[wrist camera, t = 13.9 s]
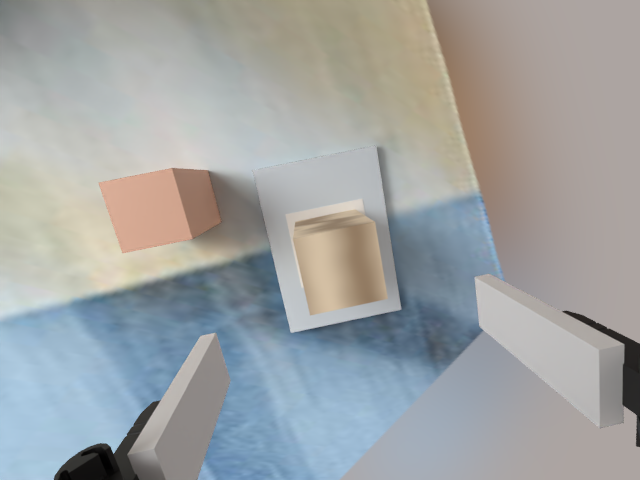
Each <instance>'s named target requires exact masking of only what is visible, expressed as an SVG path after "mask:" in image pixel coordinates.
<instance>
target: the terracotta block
mask: <svg viewBox="0 0 640 480" xmlns="http://www.w3.org/2000/svg"><path fill="white" fill-rule="evenodd" d="M99 186H100V189H101V192H102V194H103V197H104V200H105V203H106V206H107V209H108V212H109V215H110V218H111V221H112V224H113V227H114V229H115V232H116V235H117V238H118V241H119V244H120V247H121V250H122V253H126V252H131V251H136V250H141V249H146V248H151V247H156V246H161V245H166V244H170V243H175V242H180V241H185V240H190V239H193V238H195V237H197V236H199V235H200V234H202V233H204V232H205V231H207V230H209V229H211V228H212V227H214V226H216V225H218V224H219V223H221V222H222V221H221V218H220V214H219V210H218V206H217V203H216V199H215V195H214V191H213V188H212V184H211V180H210V176H209V173H208V170H194V169H178V168H170V169H165V170H160V171H155V172H150V173H145V174H140V175H135V176H130V177H125V178H120V179H115V180H110V181H105V182H100V183H99Z"/></svg>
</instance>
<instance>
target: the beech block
mask: <svg viewBox="0 0 640 480" xmlns="http://www.w3.org/2000/svg"><path fill="white" fill-rule="evenodd" d="M293 242H294V246H295V251H296V255H297V260H298V264H299V269H300V273H301V277H302V282H303V286H304V291H305V295H306V299H307V304H308V308H309V313H310V315H315V314H320V313H324V312H329V311H334V310H338V309H343V308H348V307H352V306H357V305H362V304H366V303H371V302H376V301H380V300H385V299H388V297H387V291H386V285H385V279H384V273H383V267H382V260H381V254H380V248H379V242H378V236H377V230H376V224H375V221H373V220H371V219H370V218H368V217H367V216H365V215H363V214H362V213H360V212H358V211H357V210H355V209H354V210H349V211H344V212H340V213H335V214H330V215H325V216H320V217H316V218H311V219H306V220H301V221H297V222H295V227H294V234H293Z"/></svg>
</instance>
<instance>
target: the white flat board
mask: <svg viewBox="0 0 640 480" xmlns="http://www.w3.org/2000/svg"><path fill="white" fill-rule="evenodd" d="M252 172H253V176H254V180H255V184H256V188H257V193H258V197H259V201H260V205H261V209H262V213H263V218H264V222H265V226H266V230H267V234H268V239H269V243H270V247H271V251H272V255H273V260H274V264H275V268H276V272H277V276H278V281H279V285H280V289H281V293H282V297H283V301H284V306H285V310H286V314H287V318H288V322H289V327H290V331H291V333H293V332H297V331H302V330H307V329H312V328H316V327H321V326H326V325H331V324H335V323H340V322H345V321H350V320H354V319H359V318H364V317H368V316H373V315H378V314H383V313H387V312H392V311H397V310H401V304H400V298H399V291H398V284H397V278H396V271H395V265H394V258H393V252H392V245H391V239H390V232H389V226H388V219H387V213H386V206H385V200H384V193H383V187H382V180H381V174H380V167H379V160H378V154H377V147H376V145H375V146H370V147H365V148H360V149H355V150H350V151H345V152H340V153H335V154H330V155H325V156H321V157H316V158H311V159H306V160H301V161H296V162H291V163H286V164H281V165H276V166H271V167H266V168H261V169H256V170H252ZM354 209H355V210H357V211H358V212H360V213H362V214H363V215H365V216H367V217H368V218H370V219H371V220H373V221H375V224H376V230H377V236H378V242H379V248H380V254H381V260H382V267H383V273H384V279H385V285H386V291H387V297H388V299H385V300H380V301H376V302H371V303H366V304H362V305H357V306H352V307H348V308H343V309H338V310H334V311H329V312H324V313H320V314H315V315H310V313H309V308H308V304H307V299H306V295H305V291H304V286H303V282H302V277H301V273H300V269H299V264H298V260H297V255H296V251H295V246H294V242H293V234H294V227H295V222H297V221H301V220H306V219H311V218H316V217H320V216H325V215H330V214H335V213H340V212H344V211H349V210H354Z"/></svg>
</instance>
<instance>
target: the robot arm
mask: <svg viewBox="0 0 640 480" xmlns="http://www.w3.org/2000/svg"><path fill="white" fill-rule="evenodd" d="M475 287H476V297H477V307H478V317H479V326H480V327H481V328H482V329H483V330H484V331H485V332H487V333H488V334H489V335H490V336H491V337H493V338H494V339H495V340H496V341H497V342H498V343H500V344H501V345H502V346H503V347H504V348H506V349H507V350H508V351H509V352H510V353H511V354H513V355H514V356H515V357H516V358H517V359H519V360H520V361H521V362H522V363H523V364H524V365H526V366H527V367H528V368H529V369H530V370H532V371H533V372H534V373H535V374H536V375H537V376H539V377H540V378H541V379H542V380H543V381H545V382H546V383H547V384H548V385H549V386H550V387H552V388H553V389H554V390H555V391H556V392H558V393H559V394H560V395H561V396H562V397H564V398H565V399H566V400H567V401H568V402H569V403H571V404H572V405H573V406H574V407H575V408H577V409H578V410H579V411H580V412H581V413H582V414H584V415H585V416H586V417H587V418H588V419H590V420H591V421H592V422H593V423H594V424H595V425H597V426H598V427H599V428H603V427H608V426H612V425H616V424H621V423H624V422H623V421H624V406H625V407H626V408H628V409H629V410H631V411H632V412H634V413H635V414H636V415H637V434H636V435H637V436H636V446H637V447H640V344H639V343H637V342H635V341H633V340H631V339H629V338H627V337H625V336H623V335H621V334H619V333H617V332H615V331H613V330H611V329H607V327H605V326H603V325H601V324H599V323H596V322H595V321H593V320H591V319H589V318H587V317H585V316H583V315H580V314H576V313H572V312H569V311H560V310H558V309H556V308H554V307H552V306H550V305H548V304H546V303H544V302H543V301H541V300H539V299H537V298H535V297H533V296H531V295H529V294H527V293H525V292H523V291H521V290H520V289H518V288H516V287H513V286H512V285H510V284H508V283H506V282H504V281H502V280H500V279H499V278H497V277H495V276H493V275H491V274H486V275H481V276H476V277H475ZM229 384H230V377H229V374H228V371H227V367H226V364H225V361H224V358H223V354H222V351H221V348H220V344H219V341H218V338H217V334H216V333H212V334H208V335H203V336H200V338H199V340H198V341H197V343H196V344H195V346H194V348H193V349H192V351H191V352H190V354H189V356H188V357H187V359H186V361H185V362H184V364H183V365H182V367H181V369H180V370H179V372H178V373H177V375H176V377H175V378H174V380H173V382H172V383H171V385H170V386H169V388H168V390H167V391H166V393H165V395H164V396H163V398H162V399H161V400H160V401H156V402H153V403H151V404H150V405H149V406H148V407H147V408H146V409H145V410H144V411H143V412H142V413H141V414H140V416H139V417H138V419H137V420H136V422H135V423H134V426H133V427H132V428H131V429H130V431H129V432H128V434H127V436H126V437H125V438H124V440H123V441H122V443H121V444H120V445H119V447H118V448H117V450H116V451H115V453H114V454H113V452H112V450H111V447H110V446H109V445H108V444H102V443H100V444H96V445H93V446H90V447H88V448H86V449H84V450H82V451H80V452H79V453H77V454H76V455H75V456H73V457H72V458H70V459H69V460H68V461H67V462H66V463H65V464H64V465H63V466H62V467H61V468H60V469H59V471H58V472H57V474H56V475H55V477H54V480H197V479H198V476H199V473H200V470H201V467H202V464H203V461H204V458H205V455H206V452H207V449H208V446H209V443H210V440H211V437H212V434H213V431H214V428H215V425H216V422H217V419H218V417H219V414H220V411H221V408H222V405H223V402H224V399H225V396H226V393H227V390H228V387H229Z"/></svg>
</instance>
